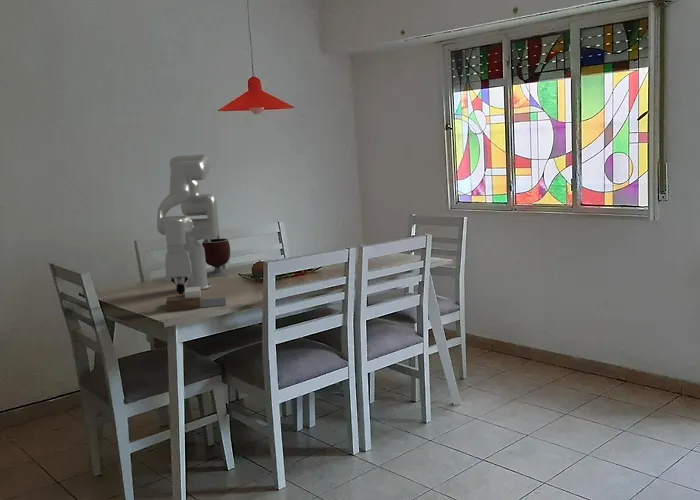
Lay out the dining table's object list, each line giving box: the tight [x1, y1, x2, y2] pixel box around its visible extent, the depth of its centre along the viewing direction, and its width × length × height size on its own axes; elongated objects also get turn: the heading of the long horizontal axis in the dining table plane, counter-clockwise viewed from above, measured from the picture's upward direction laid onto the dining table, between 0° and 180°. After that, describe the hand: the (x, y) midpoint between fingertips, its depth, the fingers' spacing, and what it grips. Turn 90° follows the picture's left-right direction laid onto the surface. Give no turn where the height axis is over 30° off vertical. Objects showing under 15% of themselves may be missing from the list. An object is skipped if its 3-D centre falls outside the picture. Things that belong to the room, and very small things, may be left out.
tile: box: [184, 287, 202, 298], centre depth 278 cm, size 9×6×2 cm, turn 11°
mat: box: [200, 297, 227, 309], centre depth 280 cm, size 14×10×1 cm
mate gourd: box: [201, 237, 231, 277], centre depth 343 cm, size 16×14×20 cm
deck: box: [165, 292, 202, 312], centre depth 277 cm, size 14×13×4 cm
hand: (181, 293), depth 277 cm, fingers closed
